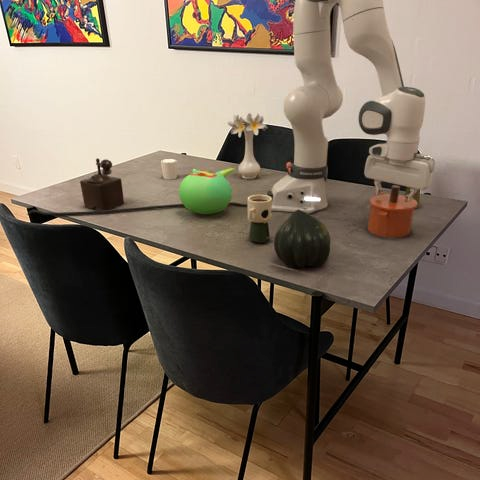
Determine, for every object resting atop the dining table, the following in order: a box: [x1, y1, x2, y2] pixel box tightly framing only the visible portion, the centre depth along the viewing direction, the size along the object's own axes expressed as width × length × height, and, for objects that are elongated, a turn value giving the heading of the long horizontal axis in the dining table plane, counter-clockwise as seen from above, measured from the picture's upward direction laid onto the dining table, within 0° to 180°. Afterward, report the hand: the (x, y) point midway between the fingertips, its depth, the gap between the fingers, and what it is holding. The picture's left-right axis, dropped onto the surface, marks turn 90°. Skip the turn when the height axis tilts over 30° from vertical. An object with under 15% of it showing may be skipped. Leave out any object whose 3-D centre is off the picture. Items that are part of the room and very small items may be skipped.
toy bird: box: [178, 167, 235, 215], centre depth 163 cm, size 18×17×15 cm
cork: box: [403, 187, 421, 210], centre depth 167 cm, size 6×6×11 cm
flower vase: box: [227, 112, 268, 180], centre depth 196 cm, size 13×18×25 cm
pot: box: [367, 204, 415, 238], centre depth 148 cm, size 13×18×9 cm
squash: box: [273, 209, 331, 268], centre depth 129 cm, size 14×15×15 cm
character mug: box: [247, 194, 273, 243], centre depth 142 cm, size 11×7×13 cm, turn 147°
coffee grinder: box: [79, 157, 125, 211], centre depth 168 cm, size 16×11×18 cm
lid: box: [369, 184, 417, 211], centre depth 144 cm, size 14×14×6 cm
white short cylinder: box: [160, 158, 178, 181], centre depth 201 cm, size 7×7×7 cm
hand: (393, 198), depth 145 cm, fingers open, 8 cm apart
